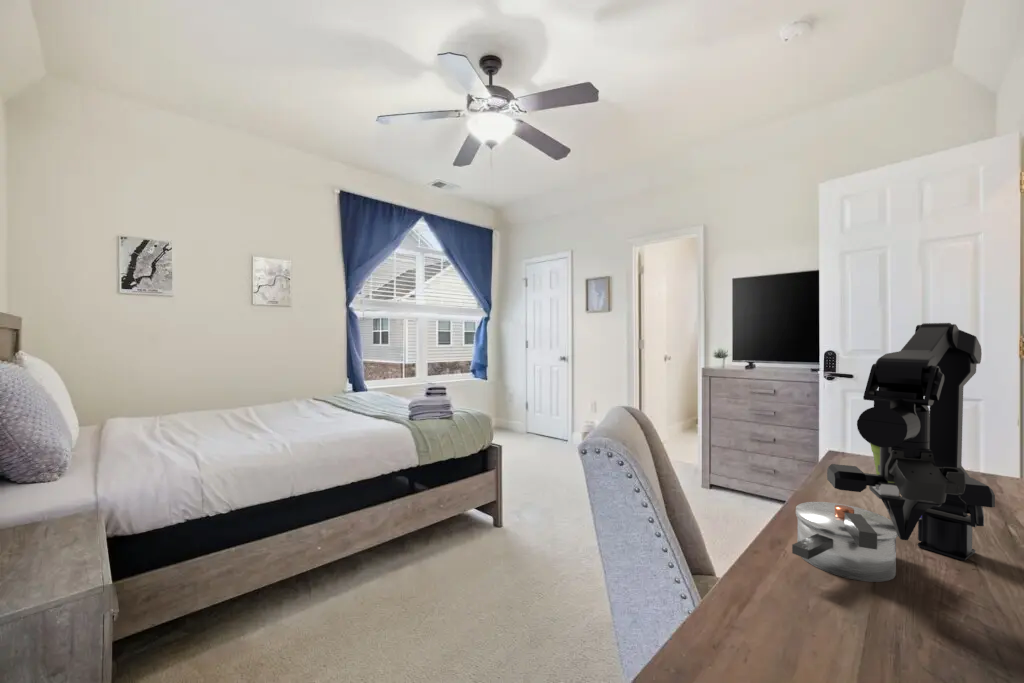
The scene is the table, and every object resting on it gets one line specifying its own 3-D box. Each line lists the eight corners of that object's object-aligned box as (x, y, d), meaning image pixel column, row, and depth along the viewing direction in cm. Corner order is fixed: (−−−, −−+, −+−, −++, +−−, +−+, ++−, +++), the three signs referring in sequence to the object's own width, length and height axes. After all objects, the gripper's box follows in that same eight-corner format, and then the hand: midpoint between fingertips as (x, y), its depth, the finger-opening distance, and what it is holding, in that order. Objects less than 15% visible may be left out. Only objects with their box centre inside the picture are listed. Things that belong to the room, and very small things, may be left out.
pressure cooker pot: (827, 533, 90) (827, 501, 90) (916, 563, 78) (916, 526, 78) (757, 565, 77) (757, 527, 77) (850, 606, 65) (851, 562, 65)
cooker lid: (789, 502, 89) (789, 485, 89) (881, 514, 83) (881, 496, 83) (810, 545, 70) (810, 524, 70) (930, 564, 64) (930, 541, 64)
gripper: (845, 443, 65) (844, 549, 65) (1020, 457, 57) (1019, 578, 58) (826, 429, 75) (825, 521, 75) (973, 440, 68) (972, 542, 68)
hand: (903, 539), depth 69 cm, fingers closed
